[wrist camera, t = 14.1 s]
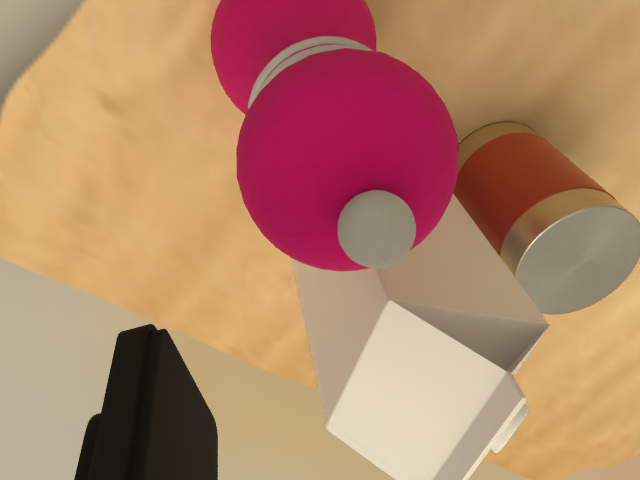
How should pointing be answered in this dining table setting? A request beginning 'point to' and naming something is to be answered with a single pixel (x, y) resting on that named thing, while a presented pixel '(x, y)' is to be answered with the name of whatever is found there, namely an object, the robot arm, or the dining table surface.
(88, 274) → the dining table surface
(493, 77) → the dining table surface
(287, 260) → the dining table surface
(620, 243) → the sauce tin
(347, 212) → the pepper mill
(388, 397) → the milk carton
